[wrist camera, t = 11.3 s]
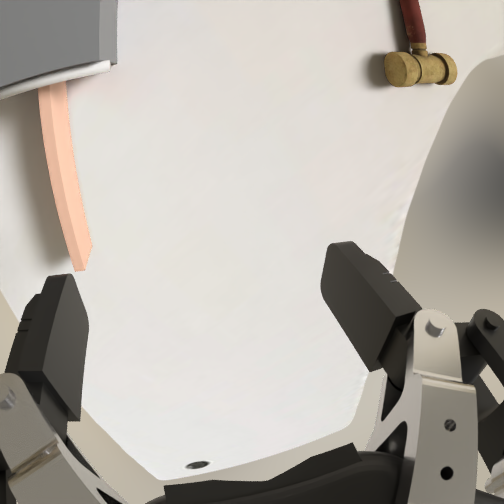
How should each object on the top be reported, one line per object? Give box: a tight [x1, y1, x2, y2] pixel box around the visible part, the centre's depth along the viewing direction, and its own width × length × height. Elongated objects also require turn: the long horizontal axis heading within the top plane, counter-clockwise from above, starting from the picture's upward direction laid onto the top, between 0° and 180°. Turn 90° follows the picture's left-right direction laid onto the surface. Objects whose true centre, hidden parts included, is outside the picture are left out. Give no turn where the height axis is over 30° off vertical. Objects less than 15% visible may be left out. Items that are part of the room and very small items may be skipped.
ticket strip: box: [38, 72, 92, 272], centre depth 25 cm, size 23×1×5 cm, turn 179°
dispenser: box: [0, 0, 118, 100], centre depth 16 cm, size 17×13×9 cm
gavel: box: [384, 0, 457, 87], centre depth 26 cm, size 21×5×10 cm
